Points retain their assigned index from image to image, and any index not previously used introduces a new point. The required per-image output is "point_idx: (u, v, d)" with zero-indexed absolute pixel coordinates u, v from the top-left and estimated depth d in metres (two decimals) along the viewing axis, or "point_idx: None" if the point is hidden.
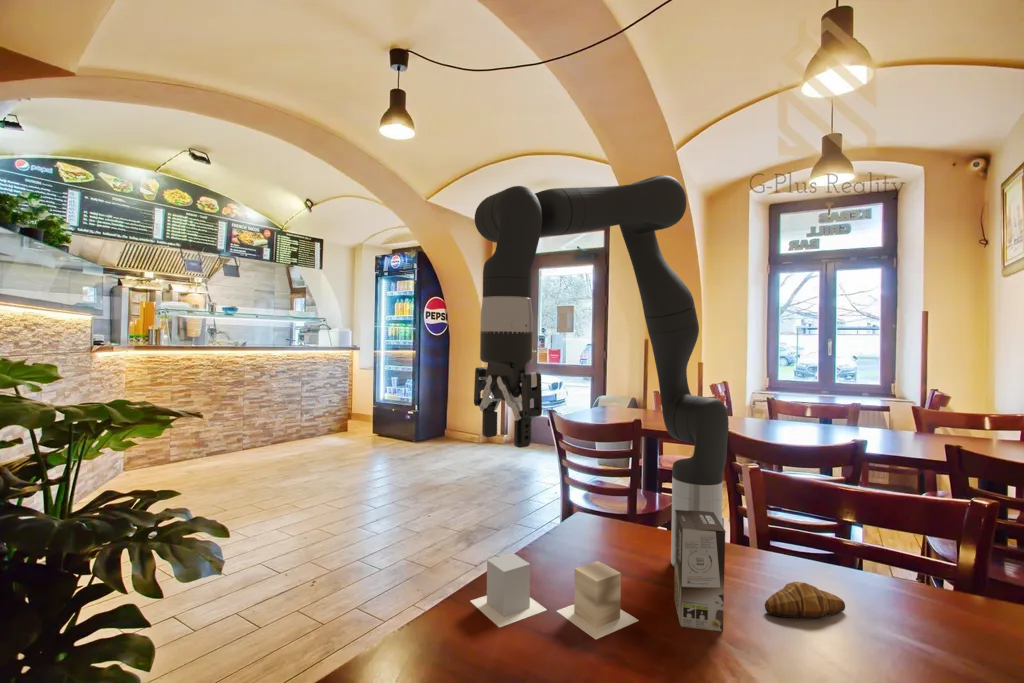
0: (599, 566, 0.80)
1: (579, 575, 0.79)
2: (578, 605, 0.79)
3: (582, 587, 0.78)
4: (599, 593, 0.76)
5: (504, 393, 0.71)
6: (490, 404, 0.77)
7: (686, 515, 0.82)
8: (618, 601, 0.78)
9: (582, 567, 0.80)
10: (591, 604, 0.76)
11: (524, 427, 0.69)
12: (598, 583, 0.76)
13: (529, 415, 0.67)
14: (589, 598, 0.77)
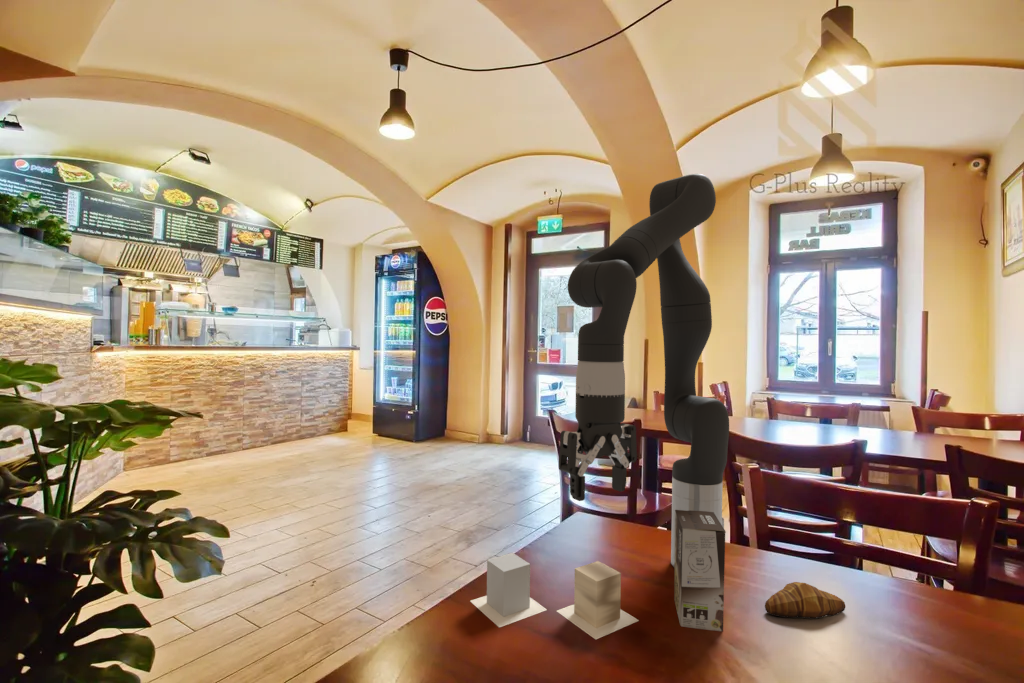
0: (599, 566, 0.80)
1: (579, 575, 0.79)
2: (578, 605, 0.79)
3: (582, 587, 0.78)
4: (599, 593, 0.76)
5: (617, 448, 0.79)
6: None
7: (686, 515, 0.82)
8: (618, 601, 0.78)
9: (582, 567, 0.80)
10: (591, 604, 0.76)
11: None
12: (598, 583, 0.76)
13: None
14: (589, 598, 0.77)
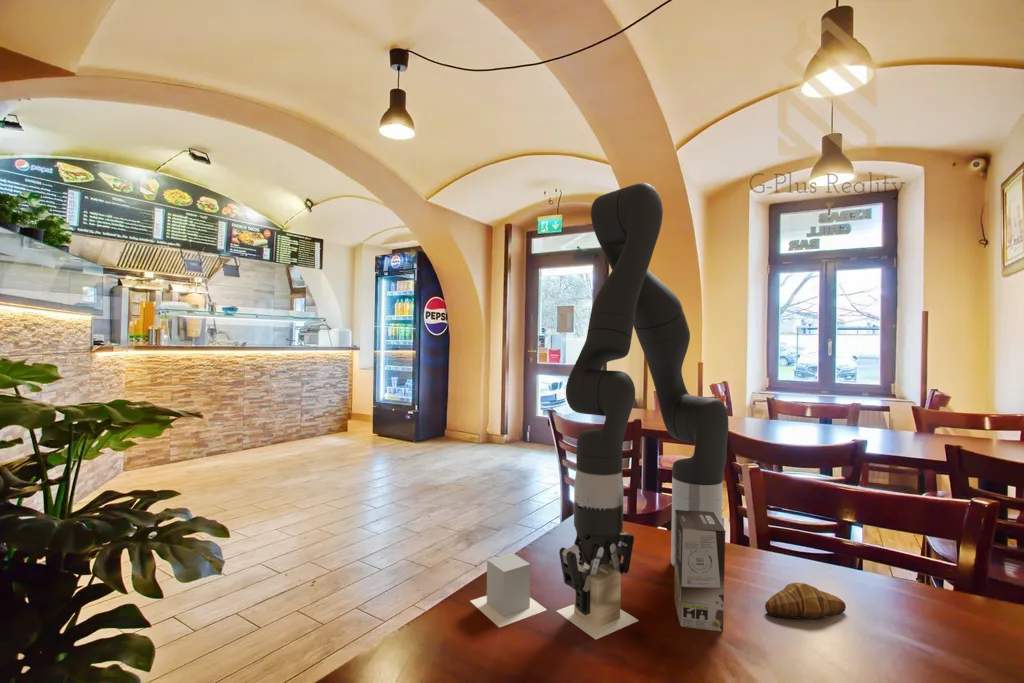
0: (599, 566, 0.80)
1: None
2: None
3: None
4: (599, 593, 0.76)
5: (613, 558, 0.78)
6: None
7: (686, 515, 0.82)
8: (618, 601, 0.78)
9: None
10: (591, 604, 0.76)
11: None
12: (598, 583, 0.76)
13: None
14: None
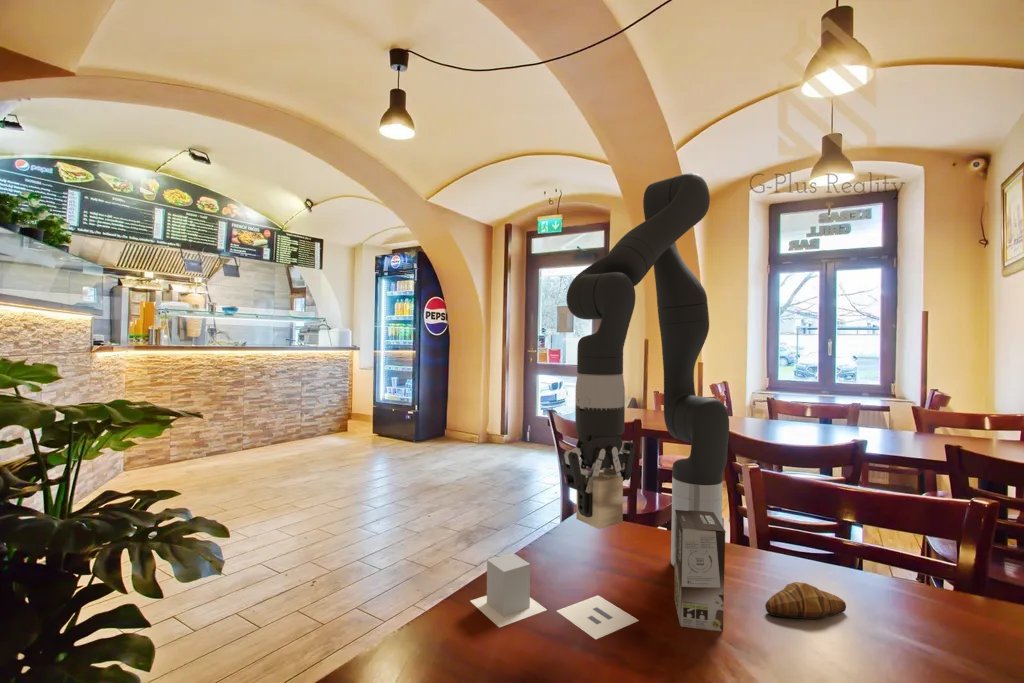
0: (601, 473, 0.80)
1: None
2: None
3: None
4: (602, 495, 0.76)
5: (615, 462, 0.78)
6: None
7: (686, 515, 0.82)
8: (620, 505, 0.78)
9: None
10: (593, 506, 0.76)
11: None
12: (600, 484, 0.75)
13: None
14: None
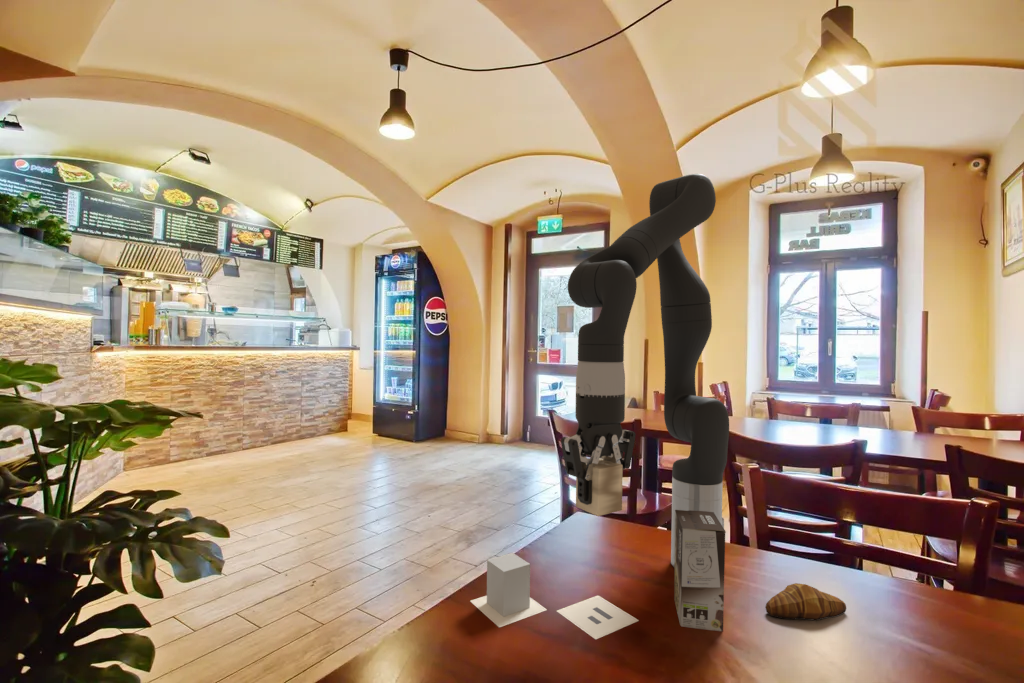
0: (601, 461, 0.80)
1: None
2: None
3: None
4: (601, 482, 0.76)
5: (615, 450, 0.78)
6: None
7: (686, 515, 0.82)
8: (620, 493, 0.78)
9: None
10: (593, 493, 0.76)
11: None
12: (600, 471, 0.75)
13: None
14: None
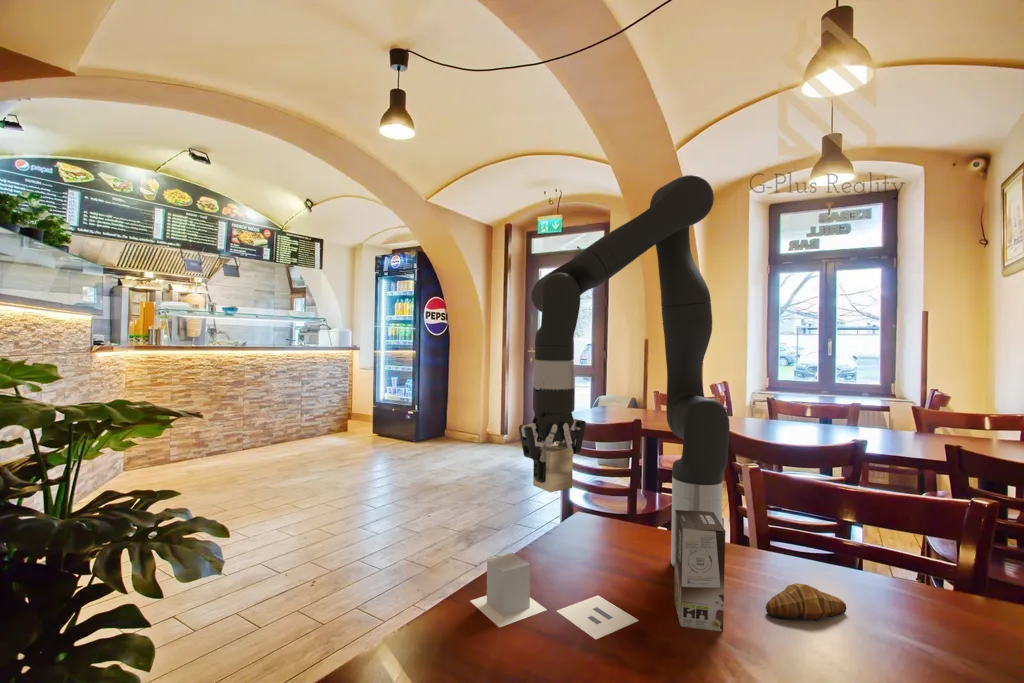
0: (555, 446, 0.93)
1: None
2: None
3: None
4: (553, 463, 0.88)
5: (566, 436, 0.91)
6: None
7: (686, 515, 0.82)
8: (570, 473, 0.91)
9: None
10: (546, 473, 0.89)
11: None
12: (552, 454, 0.88)
13: None
14: None
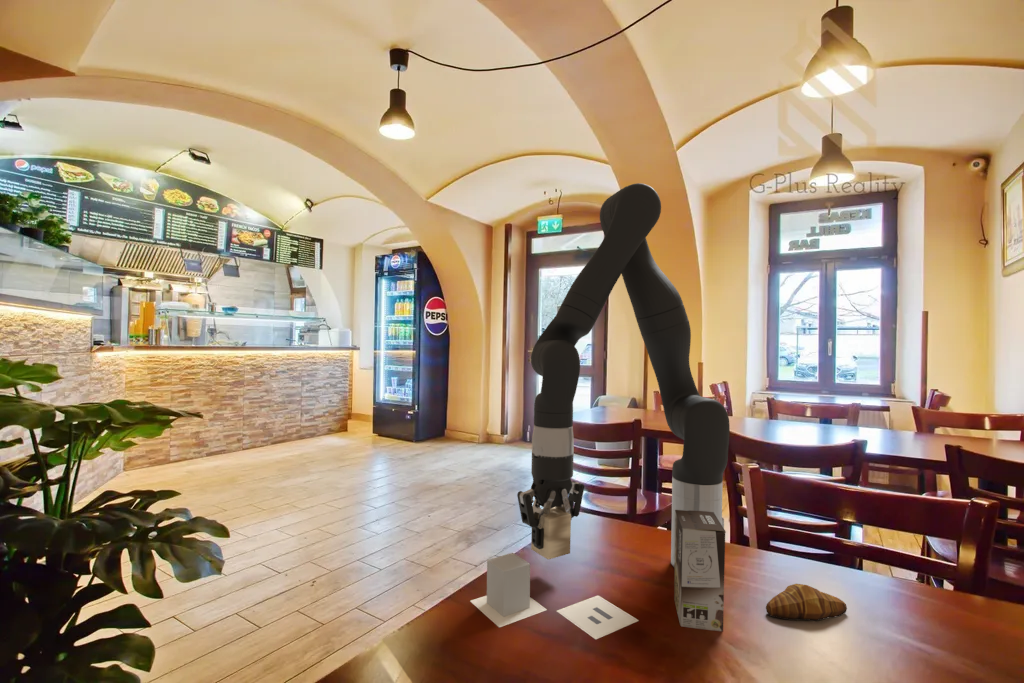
0: (553, 510, 0.93)
1: None
2: None
3: None
4: (551, 530, 0.89)
5: (565, 501, 0.91)
6: None
7: (686, 515, 0.82)
8: (568, 538, 0.91)
9: None
10: (544, 540, 0.89)
11: None
12: (550, 521, 0.88)
13: None
14: None
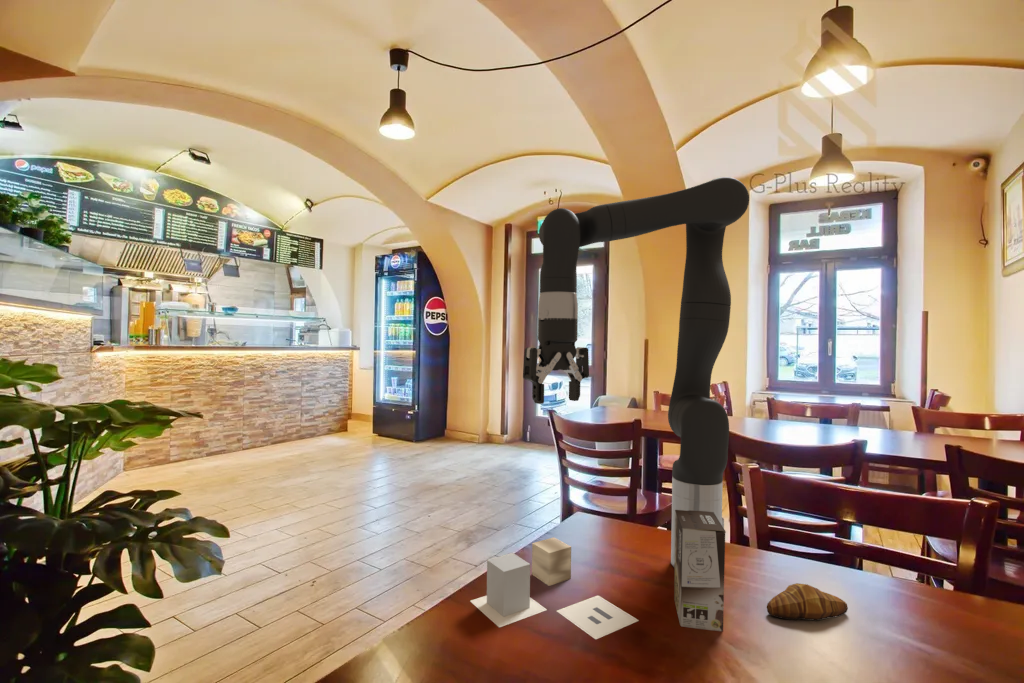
0: (554, 541, 0.93)
1: (535, 548, 0.91)
2: (535, 574, 0.92)
3: (538, 558, 0.91)
4: (552, 563, 0.89)
5: (572, 364, 0.97)
6: None
7: (686, 515, 0.82)
8: (569, 571, 0.91)
9: (538, 542, 0.93)
10: (545, 573, 0.89)
11: None
12: (550, 554, 0.88)
13: None
14: (543, 568, 0.89)
